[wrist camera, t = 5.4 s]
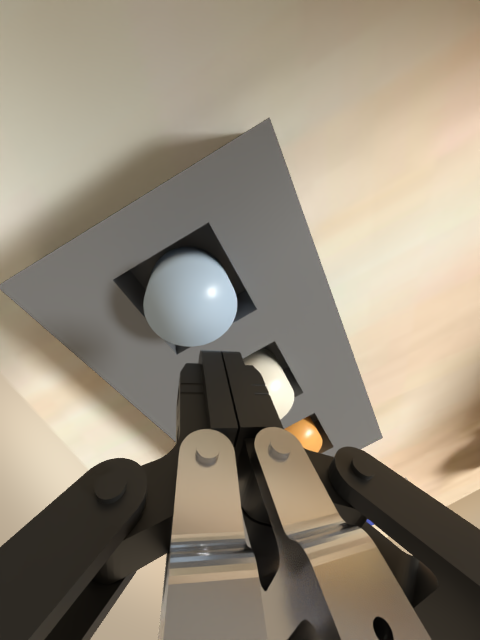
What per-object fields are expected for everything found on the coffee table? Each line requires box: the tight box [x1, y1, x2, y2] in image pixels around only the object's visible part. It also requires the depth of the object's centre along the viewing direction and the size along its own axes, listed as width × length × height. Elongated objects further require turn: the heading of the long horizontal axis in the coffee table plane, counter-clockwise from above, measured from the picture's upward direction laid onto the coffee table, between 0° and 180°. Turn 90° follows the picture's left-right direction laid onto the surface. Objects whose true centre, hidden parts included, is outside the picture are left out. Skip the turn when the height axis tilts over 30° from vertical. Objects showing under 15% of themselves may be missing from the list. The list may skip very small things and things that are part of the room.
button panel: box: [0, 118, 383, 457], centre depth 19 cm, size 26×14×4 cm, turn 29°
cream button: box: [243, 348, 294, 419], centre depth 18 cm, size 4×4×3 cm
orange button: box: [284, 416, 322, 453], centre depth 23 cm, size 4×4×3 cm
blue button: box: [143, 247, 237, 347], centre depth 14 cm, size 4×4×3 cm
